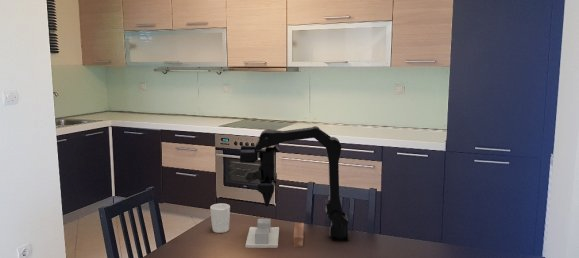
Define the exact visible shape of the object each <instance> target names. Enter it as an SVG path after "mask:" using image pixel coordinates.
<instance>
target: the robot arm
mask: <svg viewBox="0 0 579 258" xmlns="http://www.w3.org/2000/svg"><path fill="white" fill-rule="evenodd" d="M308 139H315V140H316V141H317V142H318V143H320V144H321V145H322V146H323V147H324V148H325V151H326V152H325V153H326V156H327V161H328V187H329V188H328V190H329V191H328V192H329V196H328V199H324V202H325V214H326V215H327V216H328V219H329V220H330V221H331V224H330V225H329V237H330V238H331V241H332V242H333V241H343V242H344V241H349V219H348V216H347V213H346V212H344V211H343V208H342V203H341V198H340V174H339V172H340V171H339V162H340V157H341V152H342V143H341V142H340V140H339V139H338V138H337V137H335V136H331V135H329V134H328V133H326V131H323V130H322V129H321V128H320V127H318V126H312V127H303V128H295V129H289V130H277V129H264V130H262V132H261V133H260V135H259V138H258V141H257V142H256V143H255V145H244V144H243V145H241V146H240V155H239V163H240V164H256V163H257V162H258V161H259V167H258V168H256V169H253V170H250V171H247V172H245V174H244V176H245V180H246V182H247V183H248V184H249V183H252V182H253V181H256V180H258V183H257V185H256V186H257V187H256V188H257V192H259V193H260V194H262V198H263V202H264V205H265V207H269V205H270V204H271V203H270V202H271V201H272V198H273V194H274V192H275V189H276V188H275V187H276V184H277V181H278V180H277V179H278V173H277V172H276V163H275V162H276V158H275V157H276V154H275V153H280V148H279V147H278V146H277V145H279V144H281V143H286V142H291V141H293V142H294V141H299V140H308Z"/></svg>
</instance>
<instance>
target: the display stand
mask: <svg viewBox="0 0 579 258" xmlns="http://www.w3.org/2000/svg"><path fill="white" fill-rule="evenodd" d="M279 233H280V227H279V226H274V227H273V226H272V225H271V218H257V223H256V226H250V227H249V230H248V233H247V238H246V242H245V248H247V249H248V248H249V249H251V248H253V249H257V248H258V249H259V248H260V249H261V248H263V249H264V248H266V249H267V248H270V249H271V248H273V249H277V248H279V235H280V234H279Z"/></svg>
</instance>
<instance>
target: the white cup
mask: <svg viewBox="0 0 579 258" xmlns="http://www.w3.org/2000/svg"><path fill="white" fill-rule="evenodd" d="M209 207H210V208H209V209H210V219H211V225H212V226H211V227H212V228H211V229H212V232H214V233H217V234H218V233H219V234H220V233H226V232H229V231H230V222H231V221H230V218H231V217H230V216H231V214H230V213H231V206H230V204H227V203H214V204H212V205H210V206H209Z"/></svg>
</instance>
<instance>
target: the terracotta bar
mask: <svg viewBox="0 0 579 258" xmlns="http://www.w3.org/2000/svg"><path fill="white" fill-rule="evenodd" d="M304 227H305V225H304V222H294V227H293V229H294V230H293V247H294V248H298V247H299V248H301V247H302V248H303V247H304V235H305V234H304V231H305V230H304Z"/></svg>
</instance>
